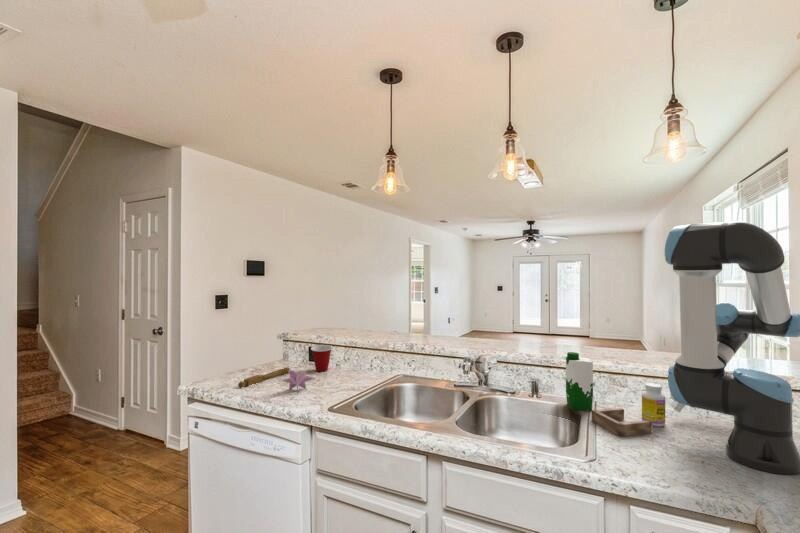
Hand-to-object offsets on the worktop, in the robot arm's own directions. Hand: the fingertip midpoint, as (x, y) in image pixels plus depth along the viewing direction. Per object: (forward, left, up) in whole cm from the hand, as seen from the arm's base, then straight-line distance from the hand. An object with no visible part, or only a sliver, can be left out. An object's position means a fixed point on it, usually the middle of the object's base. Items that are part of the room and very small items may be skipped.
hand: (675, 409), depth 135 cm
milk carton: (+19, +23, -4) cm, 30 cm away
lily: (+62, +126, -4) cm, 141 cm away
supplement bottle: (0, +9, -4) cm, 10 cm away
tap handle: (+83, +142, -5) cm, 164 cm away
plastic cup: (+94, +116, -4) cm, 149 cm away
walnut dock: (0, +22, -4) cm, 22 cm away
